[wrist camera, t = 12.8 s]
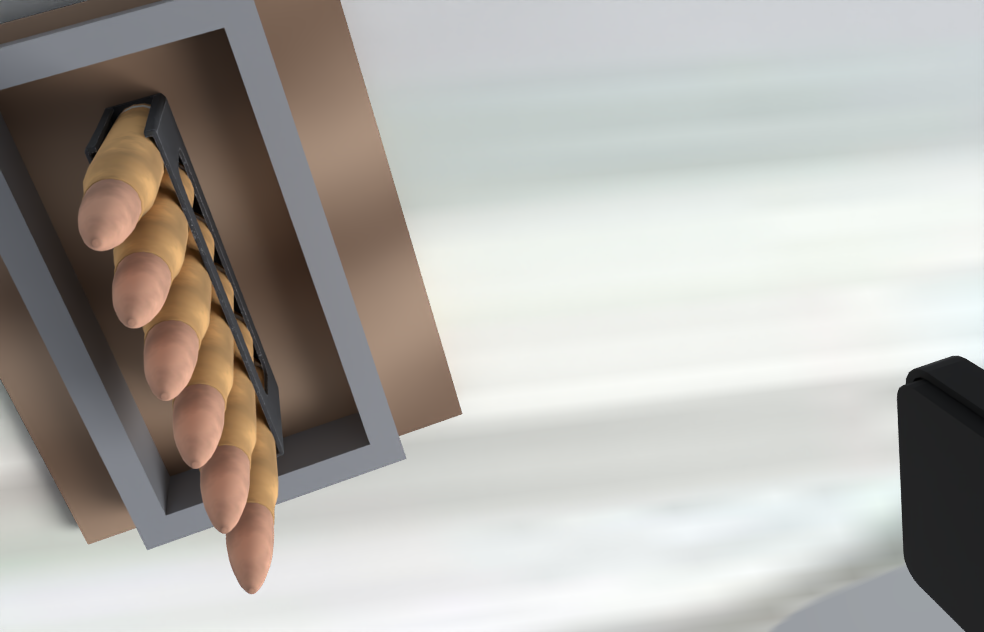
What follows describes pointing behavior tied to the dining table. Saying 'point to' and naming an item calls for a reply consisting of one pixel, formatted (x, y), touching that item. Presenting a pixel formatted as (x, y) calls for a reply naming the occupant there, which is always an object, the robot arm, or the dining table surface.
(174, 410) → the ammunition clip
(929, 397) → the robot arm
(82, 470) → the pocket board
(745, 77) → the dining table surface
